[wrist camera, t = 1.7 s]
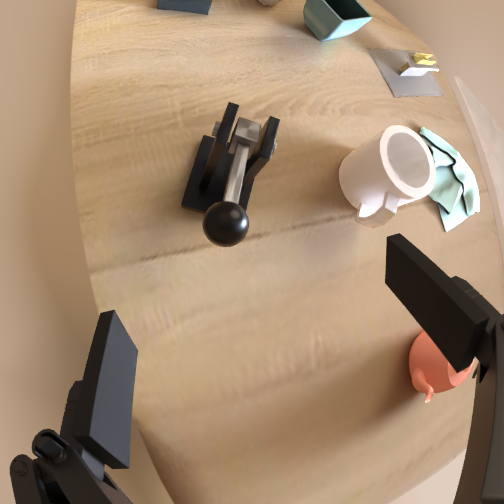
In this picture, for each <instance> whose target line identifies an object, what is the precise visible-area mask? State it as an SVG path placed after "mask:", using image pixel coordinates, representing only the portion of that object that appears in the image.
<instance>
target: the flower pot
mask: <svg viewBox="0 0 504 504" xmlns="http://www.w3.org/2000/svg"><path fill="white" fill-rule="evenodd" d="M303 14H304V20H305V24H306V25H307V26H308V27H309V28H310V30H311V31H312V32H313V33H314V34H315V35H316V36H317V38H318V39H319V40H320V41H326V40H330V39H335V38H339V37H343V36H346V35H349V34H351V33H353V32H355V31H356V30H358V29H359V28H360V27H362V26H363V25H364V24H365V23H367V22H368V21H369V20H370V19H371V18H372V16H371V15H370V14H369V12H368V11H367V10H366V9H365V8H364V7H363V6H362V5H361V4H360V3H359V2H358V1H357V0H306V3H305V6H304V11H303Z"/></svg>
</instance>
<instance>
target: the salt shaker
mask: <svg viewBox="0 0 504 504" xmlns="http://www.w3.org/2000/svg"><path fill="white" fill-rule="evenodd" d="M258 1H259V2H261V3H262V4H263V5H270V6H273V5H275V4H277V3H278V2H280V1H282V0H258Z"/></svg>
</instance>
